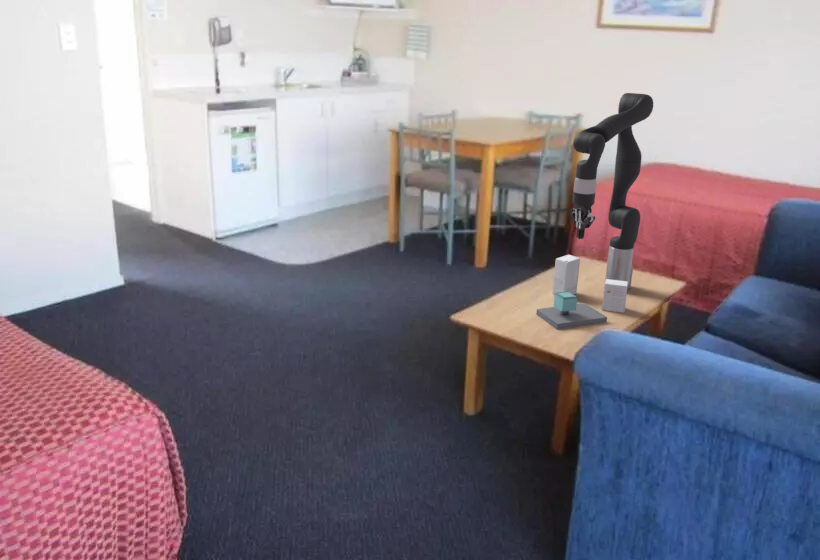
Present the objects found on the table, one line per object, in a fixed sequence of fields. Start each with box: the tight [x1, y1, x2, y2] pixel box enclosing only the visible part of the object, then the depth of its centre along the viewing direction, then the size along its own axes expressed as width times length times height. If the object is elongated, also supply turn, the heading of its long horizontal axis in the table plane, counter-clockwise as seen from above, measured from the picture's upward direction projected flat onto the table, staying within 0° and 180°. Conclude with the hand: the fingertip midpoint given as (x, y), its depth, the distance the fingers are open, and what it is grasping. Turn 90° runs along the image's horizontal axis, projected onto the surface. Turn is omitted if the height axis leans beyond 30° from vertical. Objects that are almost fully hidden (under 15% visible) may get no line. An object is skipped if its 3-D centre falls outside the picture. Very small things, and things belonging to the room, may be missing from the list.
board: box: [535, 302, 608, 330], centre depth 242 cm, size 20×14×2 cm
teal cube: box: [553, 292, 578, 311], centre depth 240 cm, size 6×6×5 cm
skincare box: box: [551, 254, 581, 295], centre depth 263 cm, size 8×6×15 cm
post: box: [560, 311, 569, 315], centre depth 240 cm, size 3×3×6 cm
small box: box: [601, 279, 628, 314], centre depth 250 cm, size 8×6×10 cm
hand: (579, 238), depth 245 cm, fingers closed
